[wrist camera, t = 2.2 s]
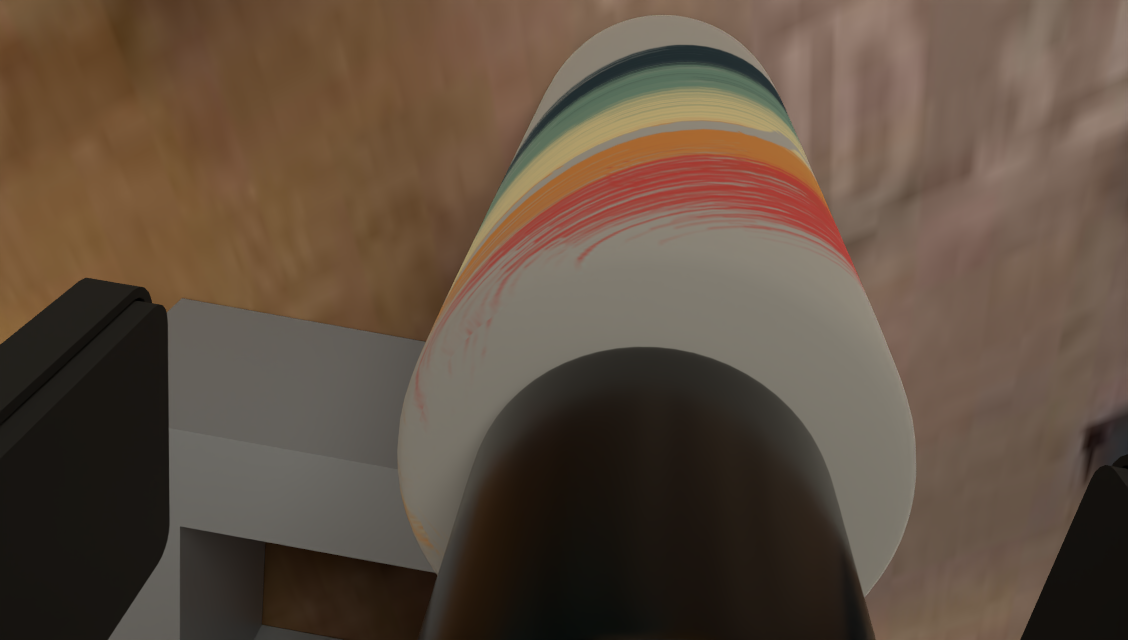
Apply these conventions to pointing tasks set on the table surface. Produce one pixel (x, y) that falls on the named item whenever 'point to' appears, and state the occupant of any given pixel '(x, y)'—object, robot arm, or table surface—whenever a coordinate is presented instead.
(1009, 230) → the table surface
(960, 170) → the table surface
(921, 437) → the table surface
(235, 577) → the sleeve
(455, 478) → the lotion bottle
